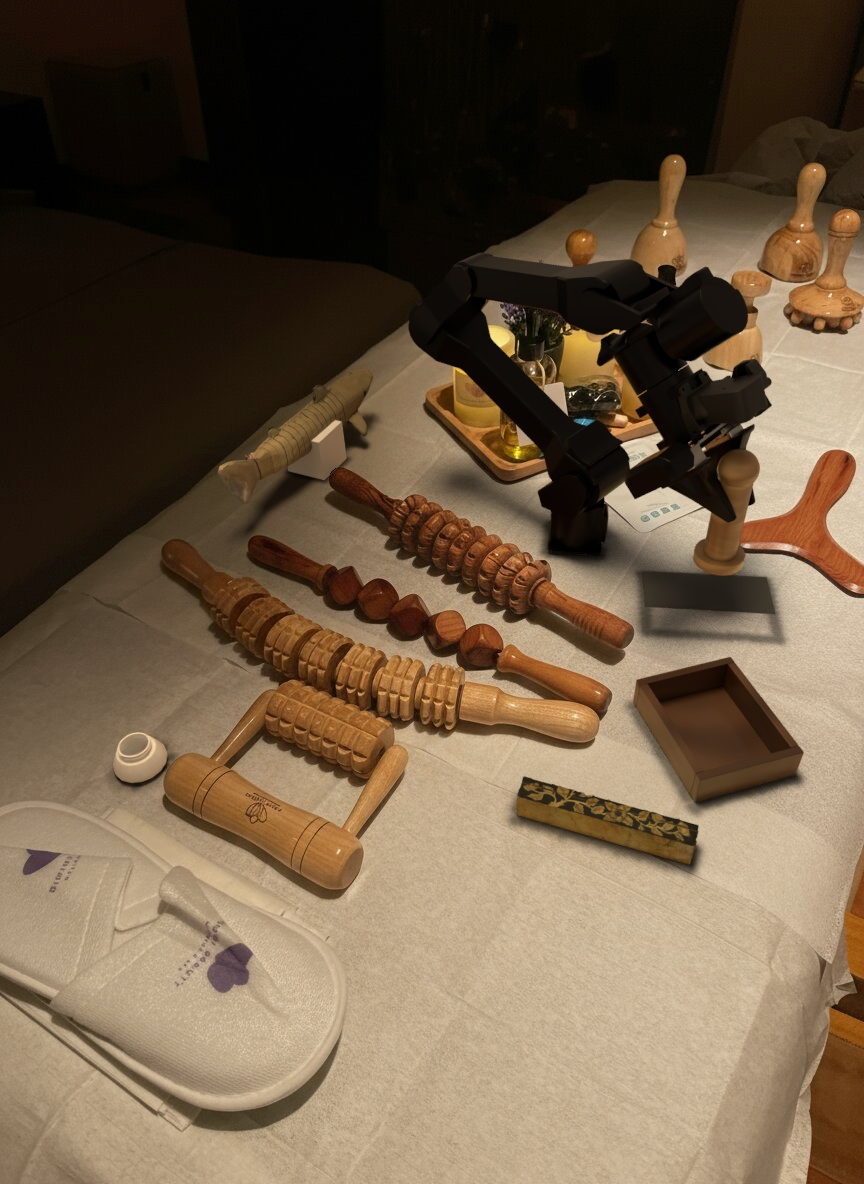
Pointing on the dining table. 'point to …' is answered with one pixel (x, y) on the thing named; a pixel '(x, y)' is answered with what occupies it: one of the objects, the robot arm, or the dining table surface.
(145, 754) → the lidless jar
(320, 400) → the wood carving
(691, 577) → the mat
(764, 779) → the box
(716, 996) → the dining table surface
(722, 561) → the wooden pestle
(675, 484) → the robot arm
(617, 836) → the decorative block
